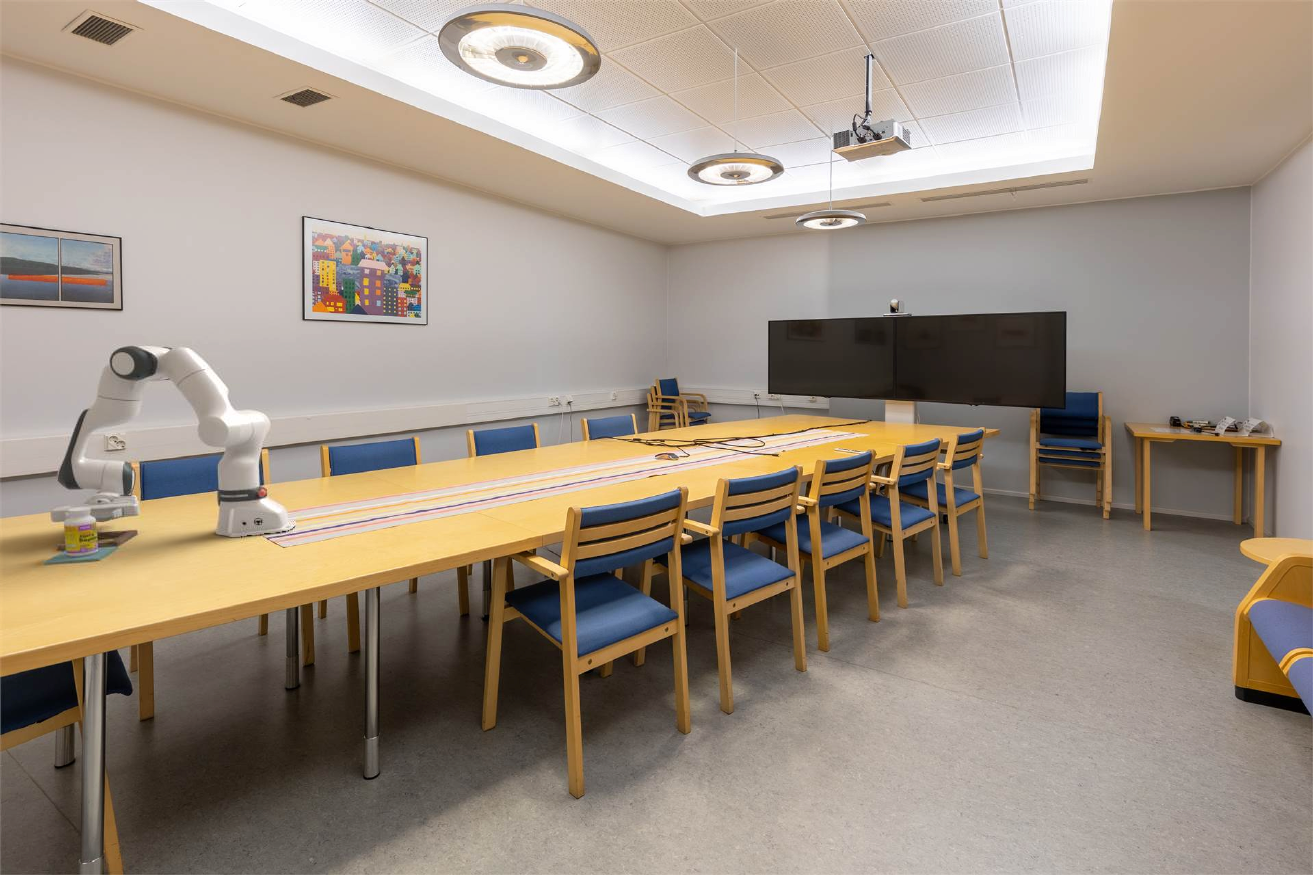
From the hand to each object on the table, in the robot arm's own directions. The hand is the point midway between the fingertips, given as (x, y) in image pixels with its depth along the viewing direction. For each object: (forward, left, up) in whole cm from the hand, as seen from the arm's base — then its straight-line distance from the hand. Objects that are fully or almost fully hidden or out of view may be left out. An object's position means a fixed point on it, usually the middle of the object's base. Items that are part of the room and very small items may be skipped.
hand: (90, 516), depth 186 cm
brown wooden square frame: (0, -4, -9) cm, 9 cm away
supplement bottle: (-2, +11, -8) cm, 14 cm away
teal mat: (-2, +11, -9) cm, 14 cm away
